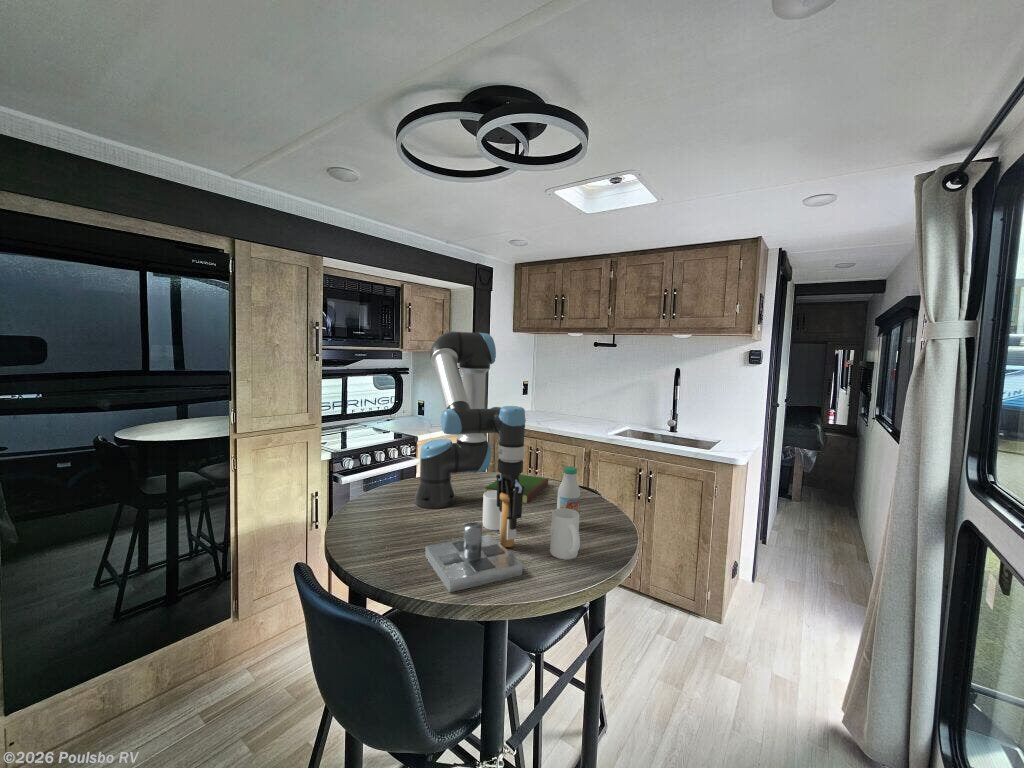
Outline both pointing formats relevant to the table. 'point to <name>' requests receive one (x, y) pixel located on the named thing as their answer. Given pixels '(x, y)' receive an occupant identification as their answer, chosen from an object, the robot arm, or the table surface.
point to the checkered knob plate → (472, 560)
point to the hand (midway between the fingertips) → (507, 535)
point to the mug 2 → (565, 533)
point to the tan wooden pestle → (505, 521)
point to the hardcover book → (526, 486)
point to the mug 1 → (491, 511)
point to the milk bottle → (569, 490)
